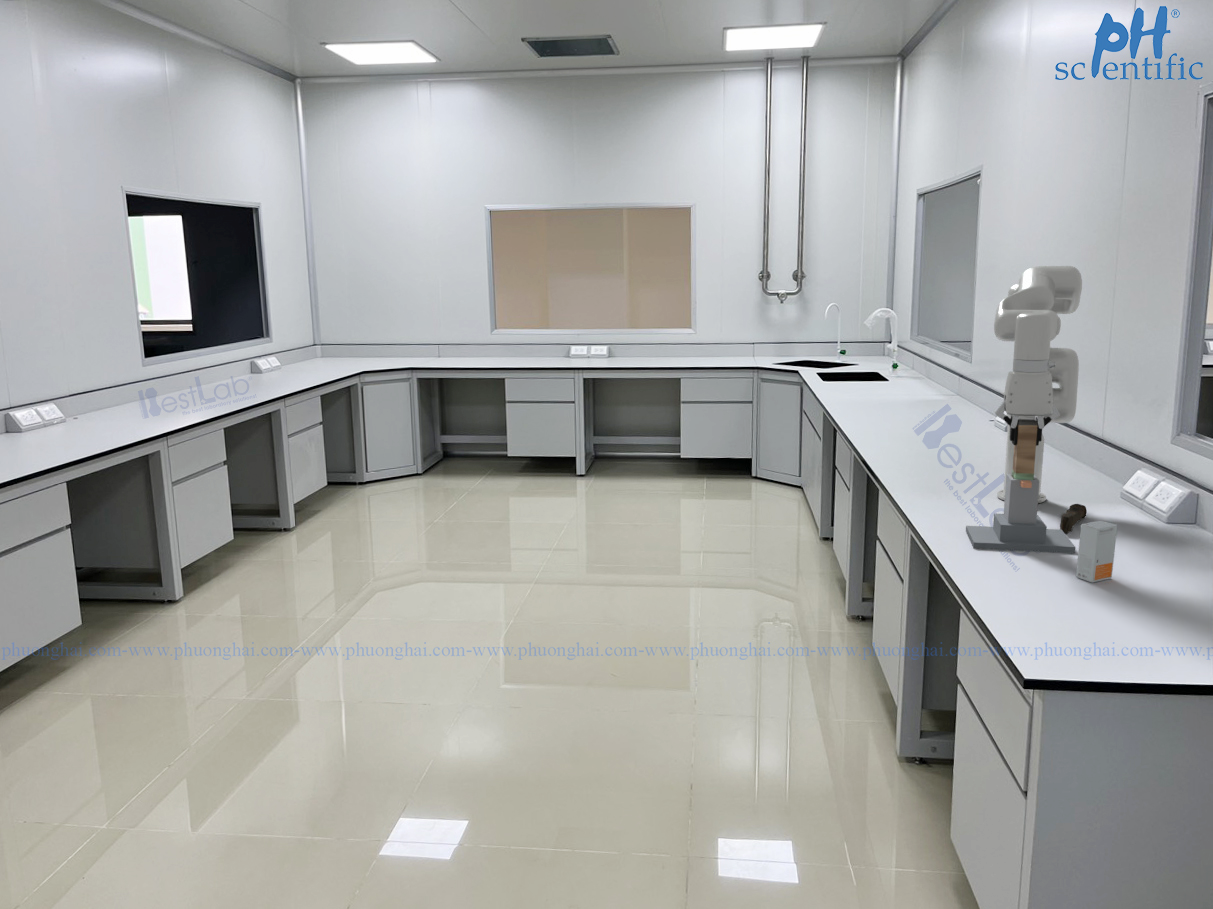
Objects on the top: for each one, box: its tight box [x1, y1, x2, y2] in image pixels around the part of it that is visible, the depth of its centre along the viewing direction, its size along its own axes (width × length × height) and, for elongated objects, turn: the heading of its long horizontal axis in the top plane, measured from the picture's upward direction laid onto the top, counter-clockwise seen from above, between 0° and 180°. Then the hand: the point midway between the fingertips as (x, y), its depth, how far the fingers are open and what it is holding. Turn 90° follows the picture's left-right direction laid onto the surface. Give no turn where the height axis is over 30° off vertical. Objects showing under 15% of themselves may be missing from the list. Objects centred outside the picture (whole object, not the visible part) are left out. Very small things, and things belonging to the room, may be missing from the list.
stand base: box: [965, 474, 1076, 554], centre depth 220 cm, size 14×22×16 cm, turn 76°
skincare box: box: [1075, 520, 1118, 583], centre depth 195 cm, size 6×4×12 cm
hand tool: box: [1059, 503, 1087, 535], centre depth 233 cm, size 19×4×5 cm, turn 140°
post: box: [1012, 419, 1038, 480], centre depth 217 cm, size 4×4×17 cm
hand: (1025, 443), depth 217 cm, fingers closed on post, 4 cm apart
